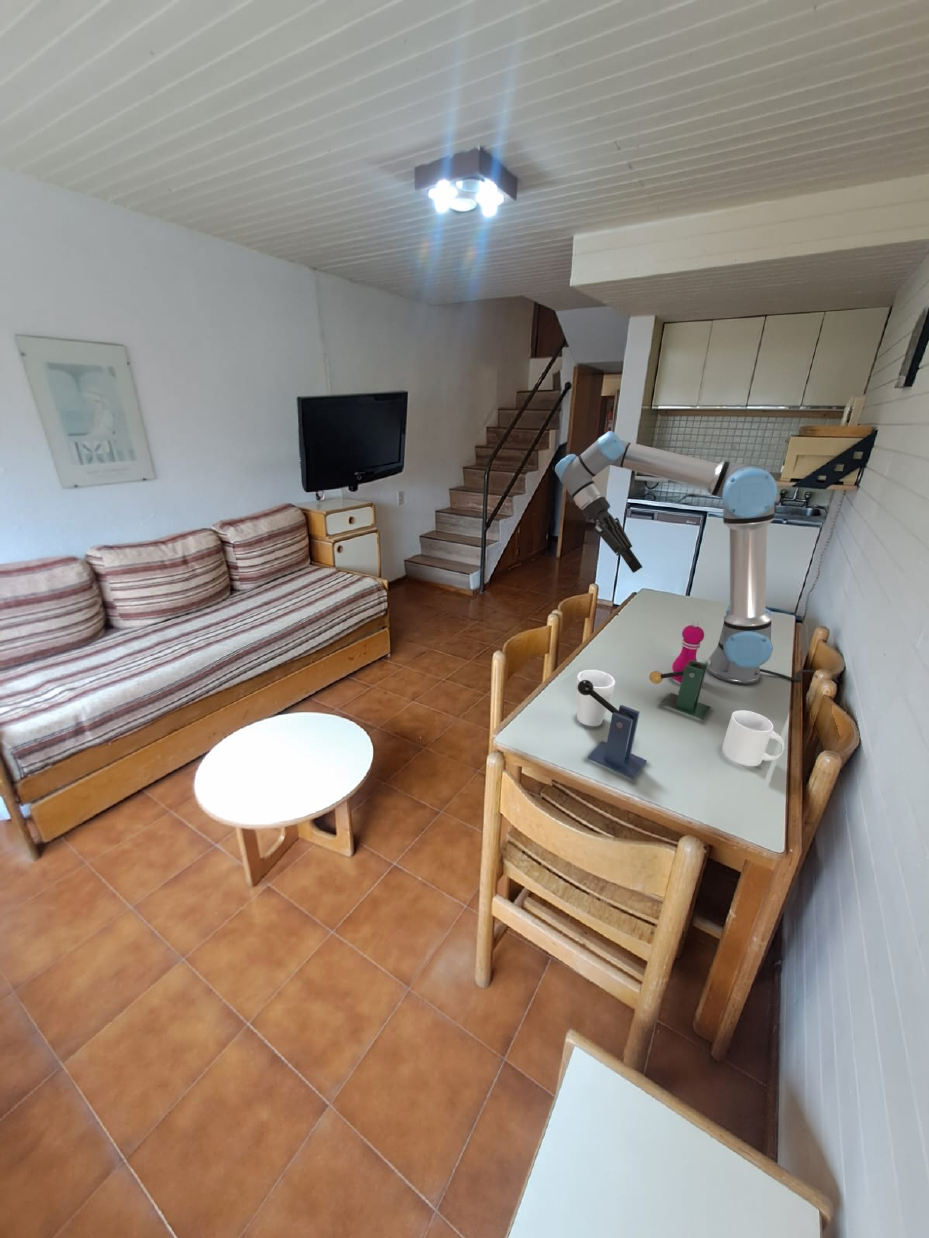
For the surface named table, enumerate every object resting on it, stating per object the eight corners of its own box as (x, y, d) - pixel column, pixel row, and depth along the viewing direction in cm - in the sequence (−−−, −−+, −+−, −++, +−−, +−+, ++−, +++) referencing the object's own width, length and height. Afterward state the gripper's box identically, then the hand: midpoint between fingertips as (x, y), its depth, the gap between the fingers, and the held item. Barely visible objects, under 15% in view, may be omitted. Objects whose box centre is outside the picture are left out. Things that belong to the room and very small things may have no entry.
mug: (777, 780, 111) (791, 741, 107) (719, 761, 116) (730, 723, 112) (776, 758, 118) (790, 721, 114) (721, 742, 123) (732, 706, 119)
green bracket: (660, 707, 137) (670, 663, 132) (670, 696, 143) (680, 653, 138) (702, 722, 131) (714, 677, 126) (710, 710, 137) (722, 666, 131)
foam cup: (579, 733, 125) (586, 689, 120) (565, 713, 133) (571, 671, 128) (614, 730, 127) (622, 686, 122) (597, 710, 135) (604, 668, 130)
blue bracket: (587, 760, 115) (595, 710, 110) (601, 744, 121) (610, 696, 116) (632, 782, 109) (643, 730, 103) (645, 764, 115) (656, 714, 109)
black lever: (572, 690, 115) (579, 680, 113) (579, 684, 117) (586, 674, 115) (622, 732, 109) (631, 722, 107) (628, 725, 112) (637, 715, 110)
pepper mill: (690, 676, 155) (704, 617, 147) (698, 688, 148) (713, 627, 140) (666, 674, 155) (679, 616, 147) (673, 686, 148) (687, 625, 141)
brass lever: (649, 686, 140) (645, 674, 140) (654, 681, 143) (650, 670, 142) (700, 679, 130) (695, 666, 130) (704, 674, 133) (699, 661, 133)
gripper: (592, 508, 151) (635, 572, 148) (572, 514, 142) (618, 581, 139) (611, 493, 146) (656, 558, 143) (592, 497, 137) (640, 567, 134)
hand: (637, 570), depth 141 cm, fingers closed
